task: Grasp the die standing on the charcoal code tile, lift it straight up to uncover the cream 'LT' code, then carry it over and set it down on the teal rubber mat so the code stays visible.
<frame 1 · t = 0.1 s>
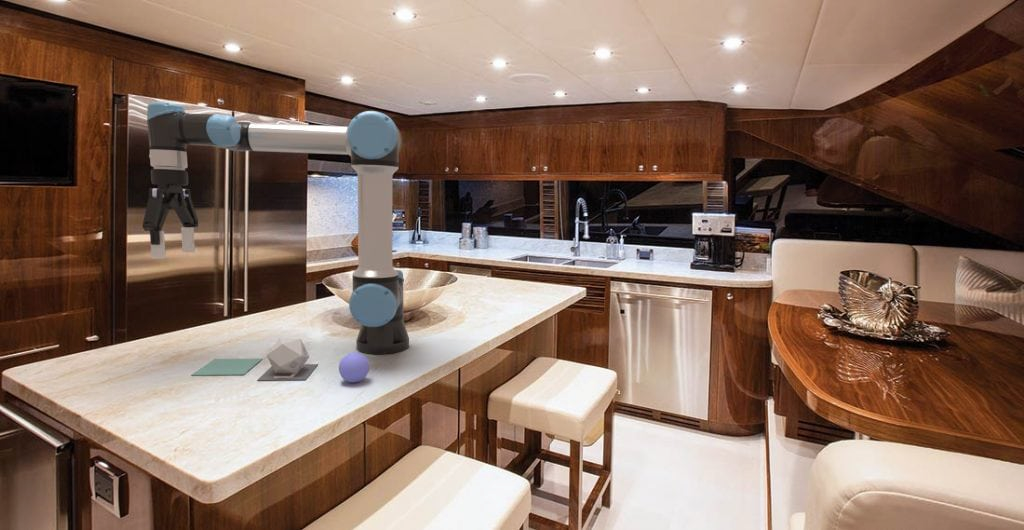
hand: (174, 255, 126), 28 cm above the table, fingers open, 13 cm apart
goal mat: (228, 367, 128), on the table
code tile: (288, 372, 125), on the table
die: (288, 372, 125), resting on code tile
sphere: (354, 382, 121), on the table
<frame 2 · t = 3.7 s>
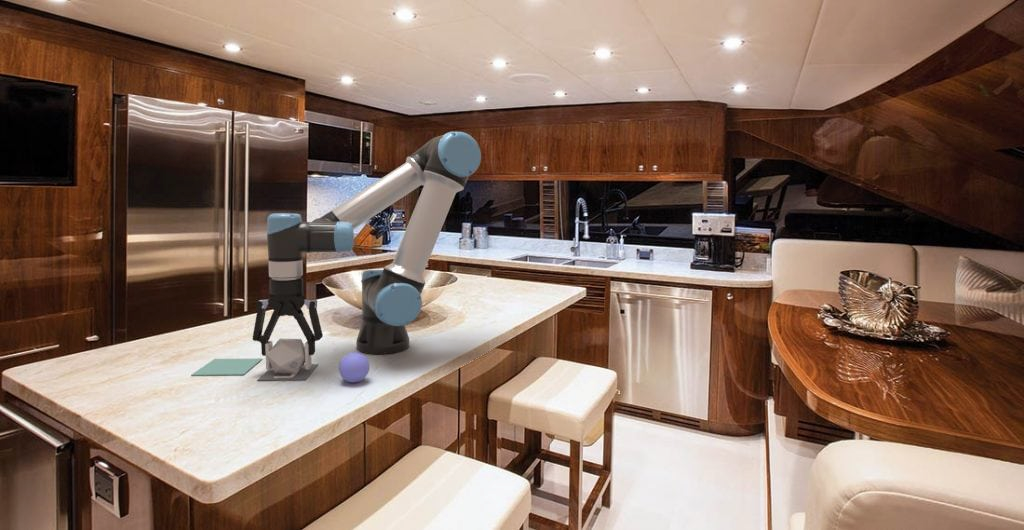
hand: (289, 367, 125), 1 cm above the table, fingers closed on die, 8 cm apart
die: (288, 372, 125), resting on code tile, touching gripper
everything else where it was.
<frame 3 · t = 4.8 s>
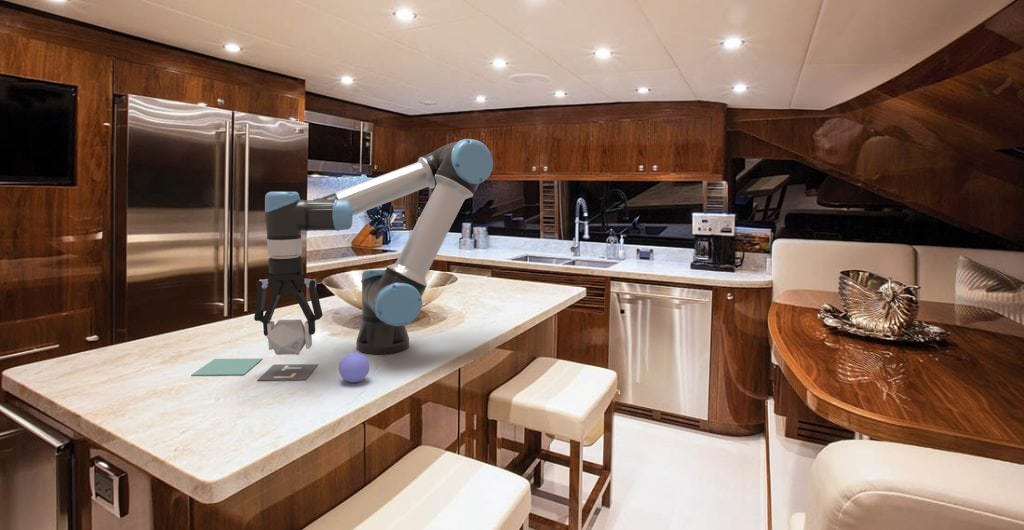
hand: (290, 347, 125), 6 cm above the table, fingers closed on die, 8 cm apart
die: (289, 353, 125), point 5 cm above the table, touching gripper
everything else where it was.
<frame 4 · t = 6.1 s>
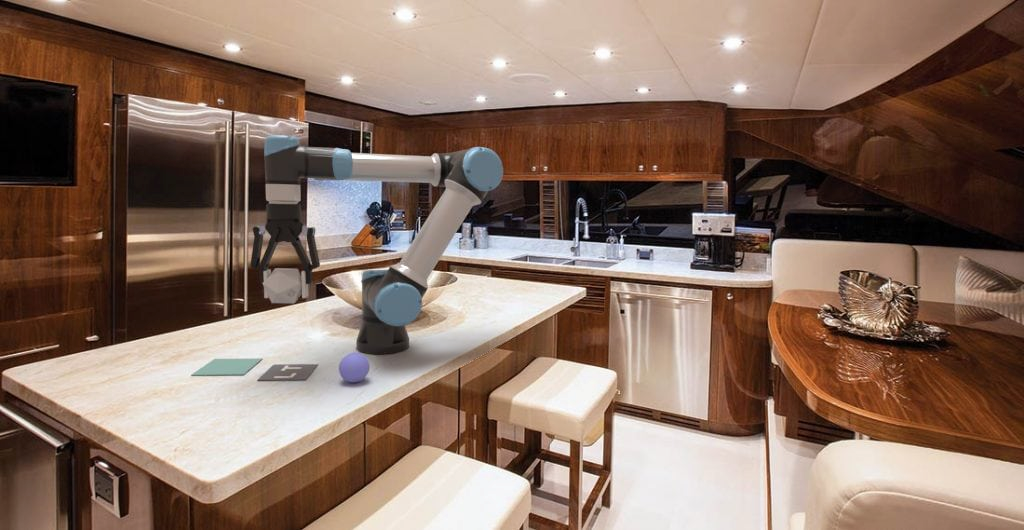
hand: (286, 296, 123), 19 cm above the table, fingers closed on die, 8 cm apart
die: (285, 302, 123), point 18 cm above the table, touching gripper
everything else where it was.
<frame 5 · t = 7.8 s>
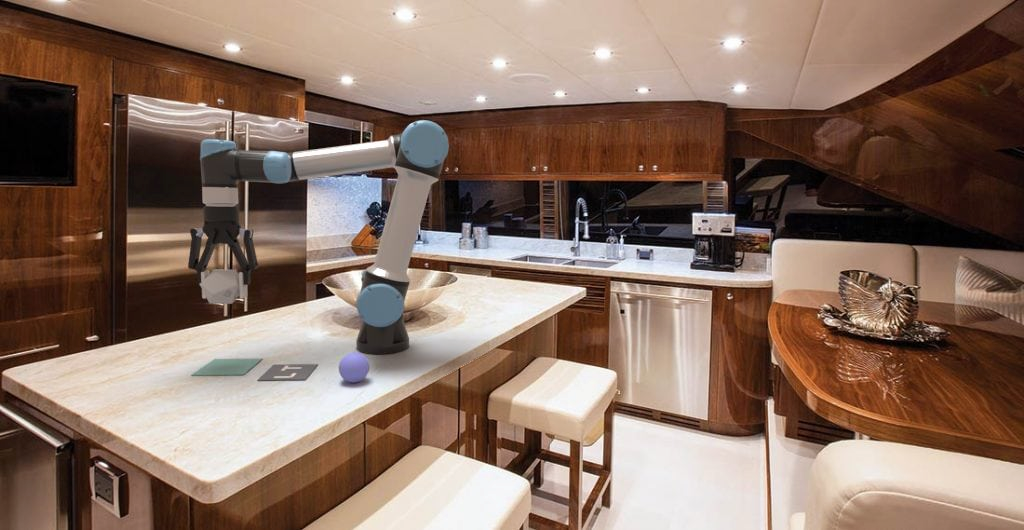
hand: (225, 297, 126), 18 cm above the table, fingers closed on die, 8 cm apart
die: (223, 302, 125), point 17 cm above the table, touching gripper
everything else where it was.
when the fingers open (3 cm above the table, at t = 10.8 s): die drops 2 cm, resting on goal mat.
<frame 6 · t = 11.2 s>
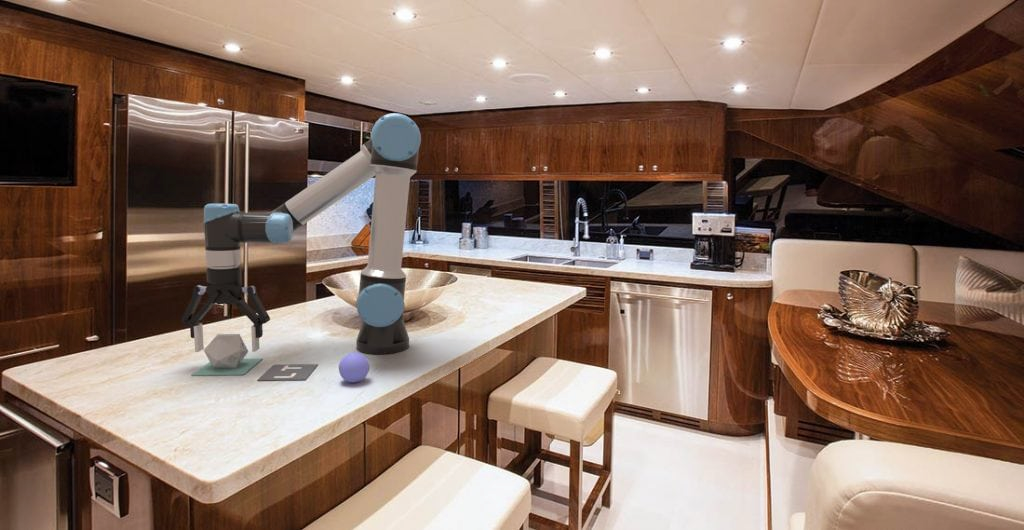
hand: (227, 350, 127), 4 cm above the table, fingers open, 13 cm apart
die: (227, 366, 128), resting on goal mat
everything else where it was.
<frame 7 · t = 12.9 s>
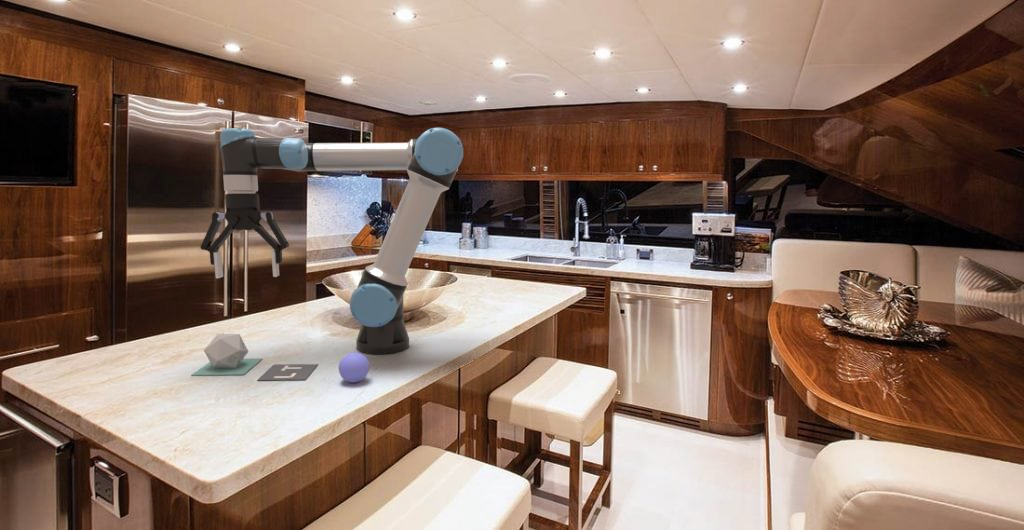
hand: (248, 277, 129), 23 cm above the table, fingers open, 13 cm apart
nothing on the table moved.
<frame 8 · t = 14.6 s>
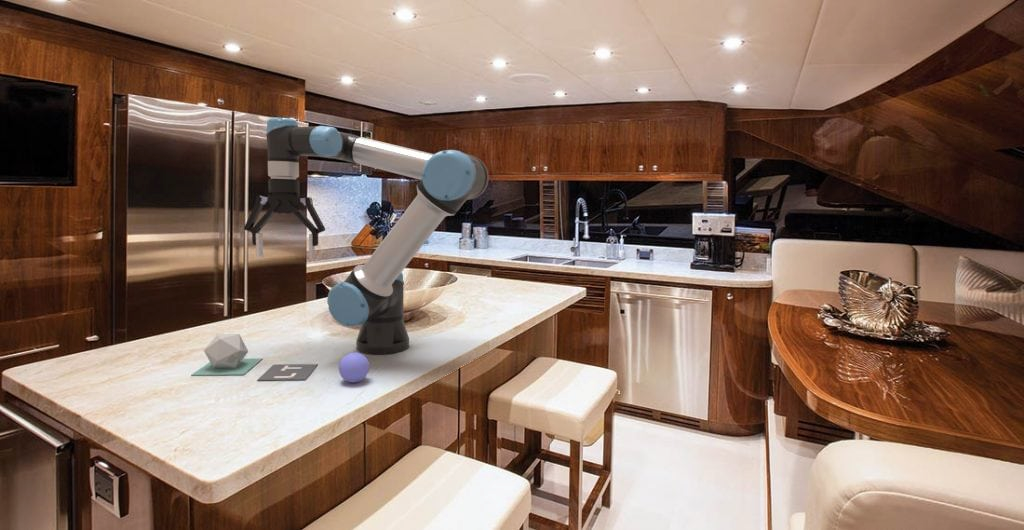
hand: (286, 257, 137), 27 cm above the table, fingers open, 13 cm apart
nothing on the table moved.
at the end: die 0.3 cm from the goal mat (horizontally); die touching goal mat; the gripper is holding nothing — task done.
